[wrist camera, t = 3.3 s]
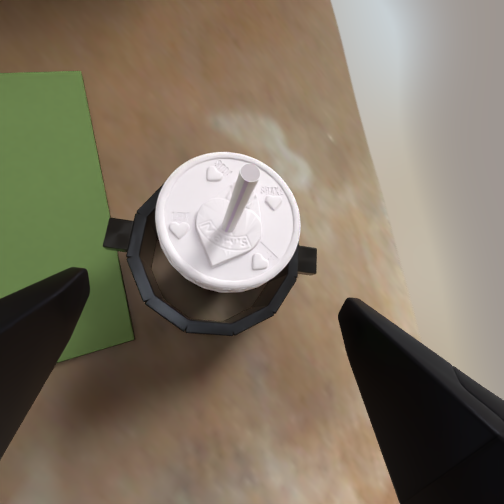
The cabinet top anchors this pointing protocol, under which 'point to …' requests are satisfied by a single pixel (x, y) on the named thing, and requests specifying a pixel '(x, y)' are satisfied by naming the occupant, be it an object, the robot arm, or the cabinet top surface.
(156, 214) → the smoothie
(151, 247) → the pot
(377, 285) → the cabinet top surface
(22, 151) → the cloth
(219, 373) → the cabinet top surface
